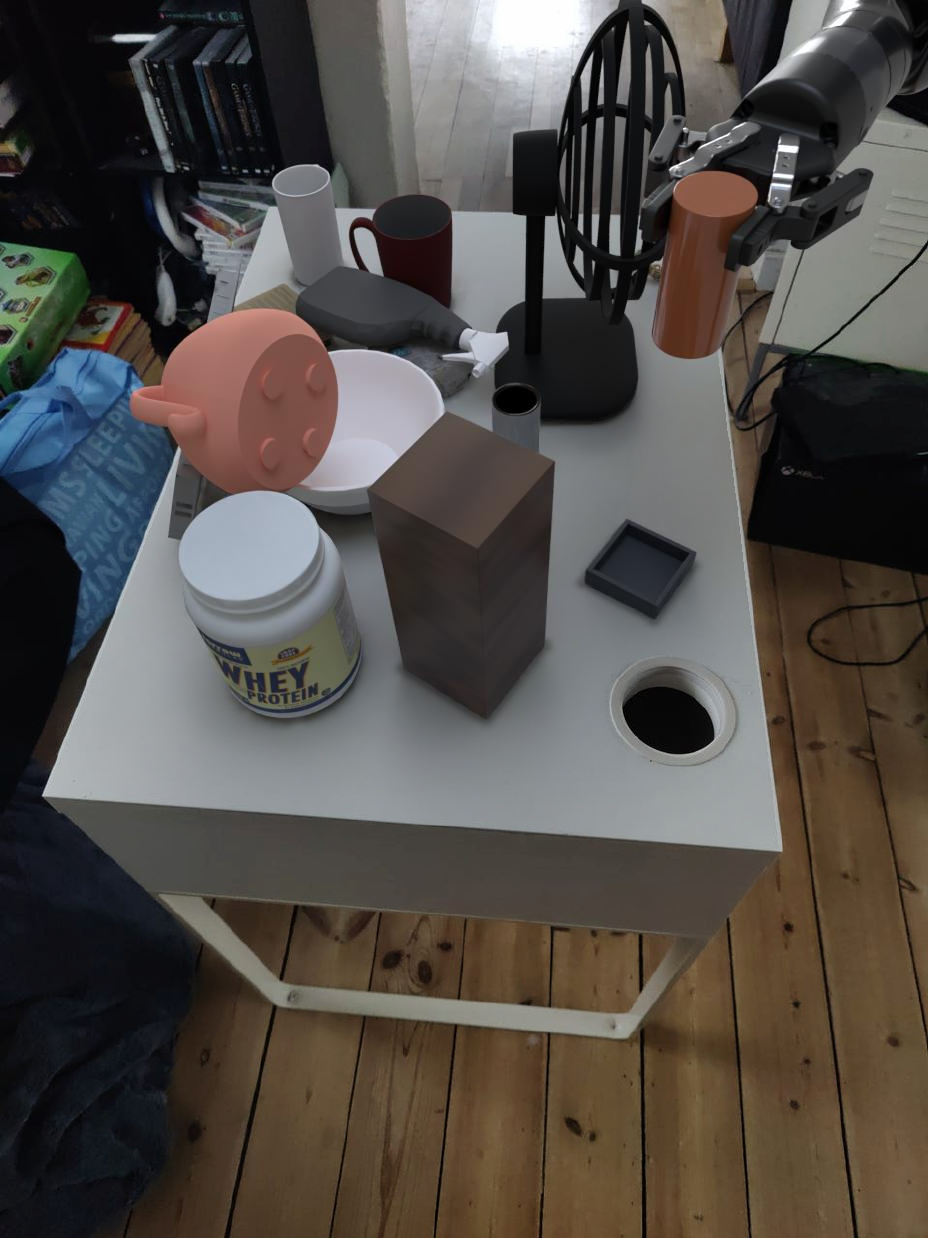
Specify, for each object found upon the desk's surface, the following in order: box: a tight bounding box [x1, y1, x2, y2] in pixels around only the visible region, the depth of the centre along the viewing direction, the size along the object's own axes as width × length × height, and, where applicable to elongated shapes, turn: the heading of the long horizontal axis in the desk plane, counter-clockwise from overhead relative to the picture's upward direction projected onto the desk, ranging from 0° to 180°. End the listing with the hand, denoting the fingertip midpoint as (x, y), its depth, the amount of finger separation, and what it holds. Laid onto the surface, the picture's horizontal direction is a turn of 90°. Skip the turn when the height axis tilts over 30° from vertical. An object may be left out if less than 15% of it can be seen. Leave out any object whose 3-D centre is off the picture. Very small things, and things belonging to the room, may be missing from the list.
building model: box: [167, 252, 244, 541], centre depth 84 cm, size 25×18×2 cm
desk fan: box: [493, 0, 691, 421], centre depth 82 cm, size 27×18×35 cm, turn 178°
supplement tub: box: [177, 491, 363, 719], centre depth 69 cm, size 12×12×17 cm
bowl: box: [284, 348, 445, 516], centre depth 85 cm, size 19×20×8 cm
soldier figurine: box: [632, 245, 662, 281], centre depth 104 cm, size 2×1×4 cm
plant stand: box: [367, 410, 556, 720], centre depth 66 cm, size 9×9×23 cm
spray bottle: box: [295, 265, 509, 379], centre depth 94 cm, size 3×11×24 cm
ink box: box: [233, 283, 335, 351], centre depth 100 cm, size 10×4×8 cm
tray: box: [584, 518, 698, 620], centre depth 79 cm, size 7×7×2 cm
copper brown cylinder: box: [651, 171, 758, 360], centre depth 54 cm, size 5×5×10 cm
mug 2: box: [348, 194, 454, 309], centre depth 100 cm, size 12×9×11 cm
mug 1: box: [271, 164, 345, 287], centre depth 105 cm, size 10×7×12 cm, turn 169°
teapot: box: [129, 309, 338, 495], centre depth 73 cm, size 22×16×12 cm
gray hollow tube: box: [491, 383, 541, 454], centre depth 83 cm, size 4×4×10 cm
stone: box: [366, 336, 474, 400], centre depth 95 cm, size 15×5×10 cm
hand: (689, 241), depth 50 cm, fingers closed on copper brown cylinder, 5 cm apart
